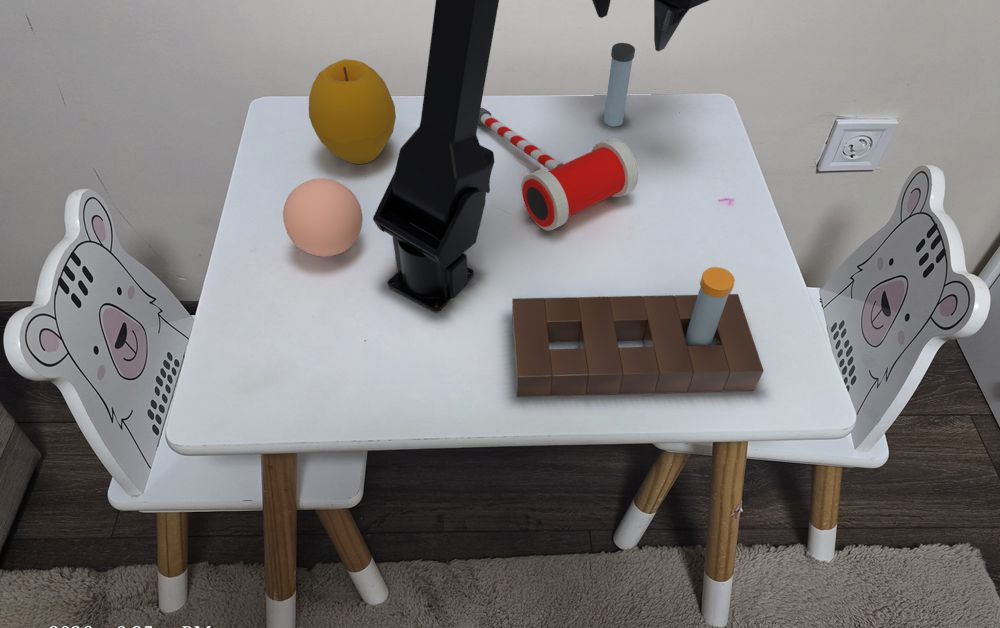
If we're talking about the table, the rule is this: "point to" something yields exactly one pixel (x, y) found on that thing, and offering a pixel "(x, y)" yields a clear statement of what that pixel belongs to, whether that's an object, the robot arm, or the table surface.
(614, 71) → the tube grey
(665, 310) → the rack
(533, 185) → the toy hammer
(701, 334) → the orange-capped peg
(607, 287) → the table surface
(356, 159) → the apple
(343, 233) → the toy ball
